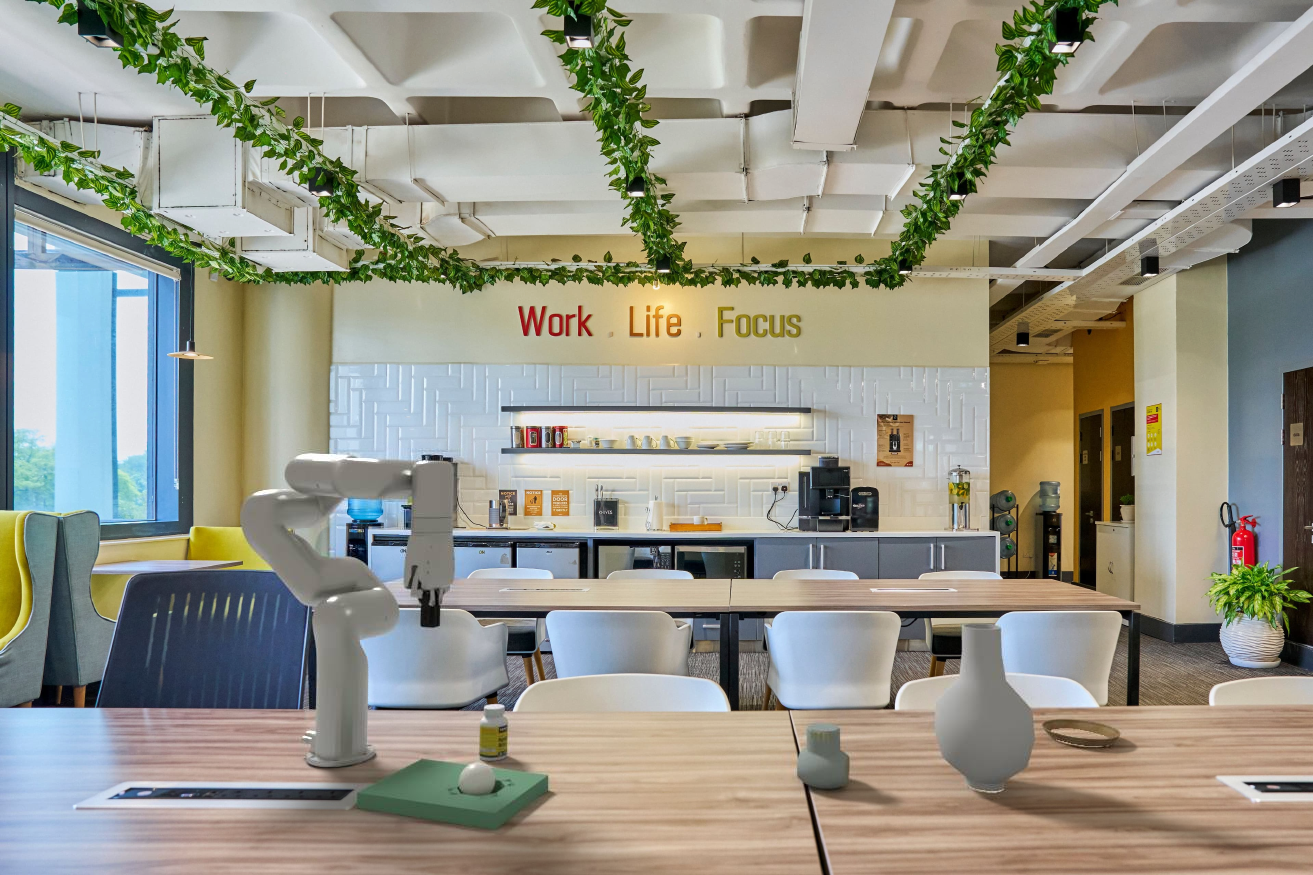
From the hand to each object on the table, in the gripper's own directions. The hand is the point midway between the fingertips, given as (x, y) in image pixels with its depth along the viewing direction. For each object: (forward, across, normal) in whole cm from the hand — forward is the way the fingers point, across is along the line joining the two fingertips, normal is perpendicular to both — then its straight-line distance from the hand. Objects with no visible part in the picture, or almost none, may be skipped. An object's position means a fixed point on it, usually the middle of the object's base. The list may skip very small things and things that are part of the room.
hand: (430, 626), depth 154 cm
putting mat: (+27, +8, +11) cm, 30 cm away
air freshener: (+27, -20, +69) cm, 77 cm away
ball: (+24, +8, +15) cm, 29 cm away
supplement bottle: (+27, -13, +6) cm, 31 cm away
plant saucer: (+27, -64, +116) cm, 135 cm away
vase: (+27, -28, +96) cm, 104 cm away
